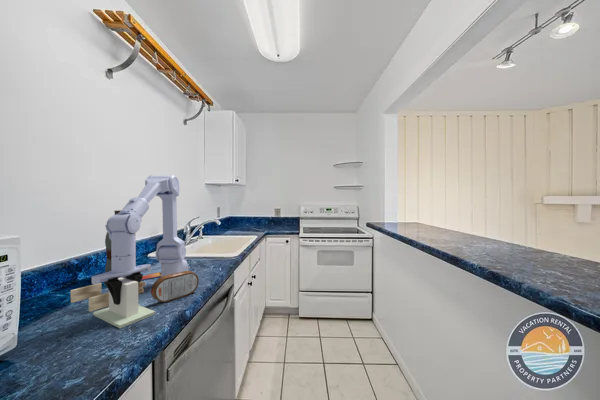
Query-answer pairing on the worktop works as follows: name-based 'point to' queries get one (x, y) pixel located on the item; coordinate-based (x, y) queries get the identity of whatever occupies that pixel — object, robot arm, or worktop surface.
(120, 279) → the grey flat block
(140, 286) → the offcuts
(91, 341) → the worktop surface
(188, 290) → the tin
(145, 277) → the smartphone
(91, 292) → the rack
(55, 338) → the worktop surface
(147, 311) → the mat
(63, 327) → the worktop surface
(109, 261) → the bottle
